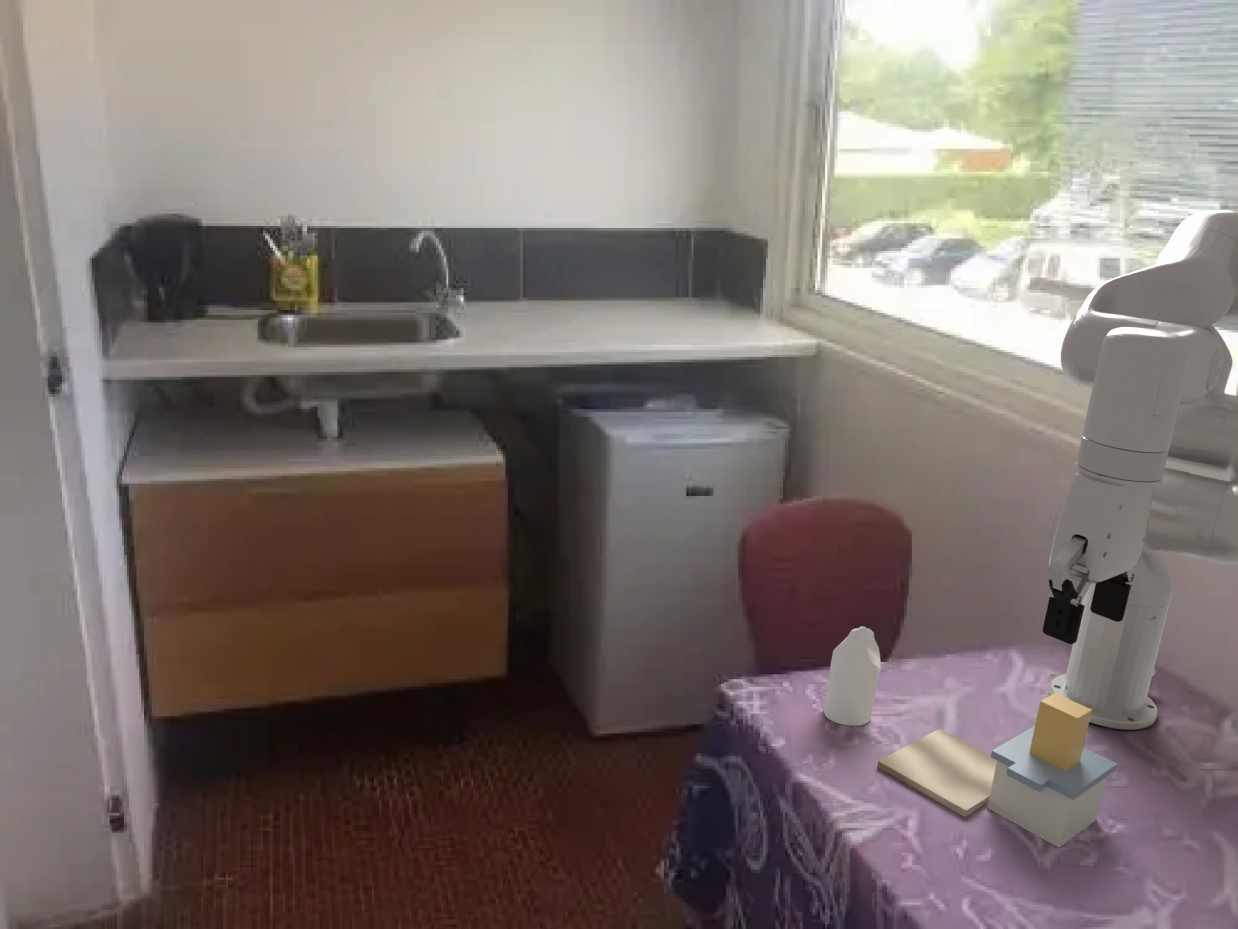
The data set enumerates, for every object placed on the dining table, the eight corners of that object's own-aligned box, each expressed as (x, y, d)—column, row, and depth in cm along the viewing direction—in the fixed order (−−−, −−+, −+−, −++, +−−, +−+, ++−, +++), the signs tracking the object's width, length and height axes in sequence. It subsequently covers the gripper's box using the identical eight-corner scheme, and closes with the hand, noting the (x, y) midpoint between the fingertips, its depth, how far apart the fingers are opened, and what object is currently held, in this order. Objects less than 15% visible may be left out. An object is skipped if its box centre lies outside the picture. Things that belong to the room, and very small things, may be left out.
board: (938, 734, 127) (939, 728, 127) (1024, 779, 119) (1025, 773, 119) (877, 767, 119) (878, 760, 119) (964, 817, 111) (966, 810, 111)
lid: (1034, 731, 117) (1046, 675, 115) (1115, 770, 111) (1130, 712, 109) (982, 762, 110) (994, 703, 108) (1065, 805, 104) (1079, 744, 102)
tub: (1026, 783, 118) (1036, 735, 117) (1096, 819, 113) (1108, 769, 111) (987, 808, 113) (997, 758, 111) (1059, 847, 108) (1071, 796, 106)
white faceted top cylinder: (866, 611, 130) (898, 630, 125) (852, 699, 133) (882, 722, 129) (826, 617, 127) (857, 638, 122) (813, 708, 131) (842, 731, 126)
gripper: (1122, 440, 110) (1087, 596, 115) (1037, 461, 99) (1002, 632, 103) (1199, 460, 104) (1159, 622, 109) (1118, 484, 93) (1077, 663, 98)
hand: (1083, 627), depth 106 cm, fingers open, 9 cm apart
